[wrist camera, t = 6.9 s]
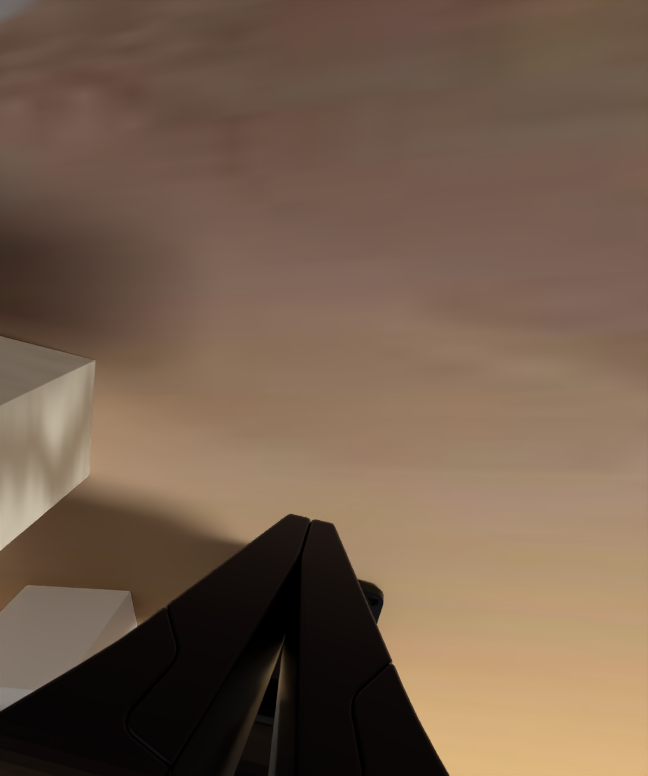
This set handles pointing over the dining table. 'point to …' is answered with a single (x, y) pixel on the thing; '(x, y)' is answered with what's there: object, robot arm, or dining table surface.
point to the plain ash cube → (41, 430)
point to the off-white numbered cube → (56, 633)
